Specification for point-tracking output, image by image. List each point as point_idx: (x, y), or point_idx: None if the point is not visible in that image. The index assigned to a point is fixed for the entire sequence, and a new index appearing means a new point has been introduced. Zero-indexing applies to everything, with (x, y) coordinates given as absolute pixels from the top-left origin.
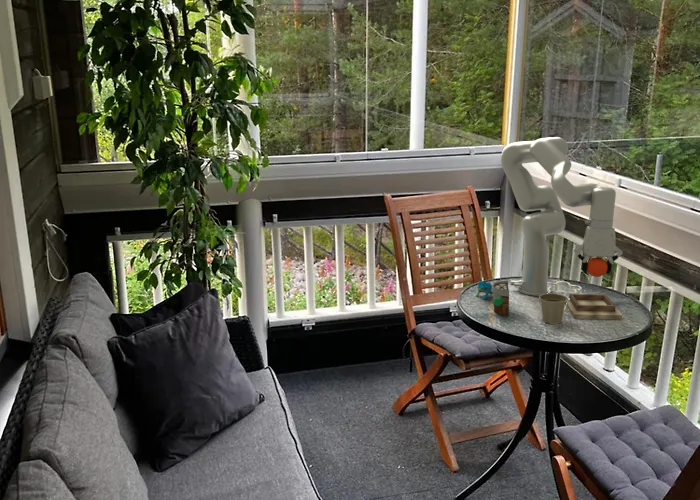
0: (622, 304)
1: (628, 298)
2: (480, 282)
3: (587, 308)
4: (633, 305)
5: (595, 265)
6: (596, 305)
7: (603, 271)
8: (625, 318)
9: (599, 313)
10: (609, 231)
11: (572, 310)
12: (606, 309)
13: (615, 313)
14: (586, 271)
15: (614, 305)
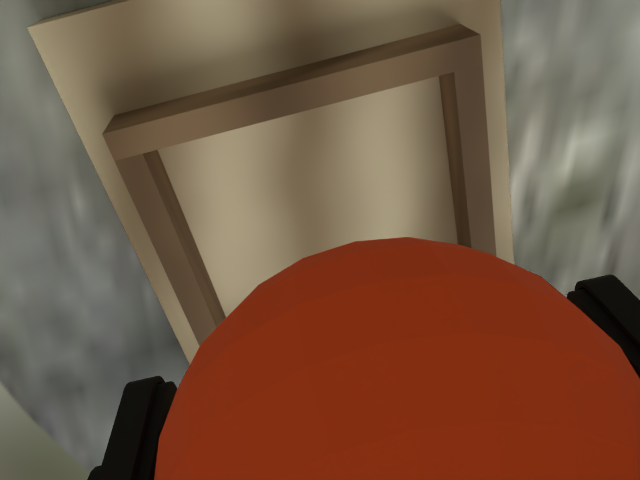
0: (106, 360)
1: (89, 465)
2: None
3: (368, 55)
4: (29, 365)
5: (518, 393)
6: (287, 100)
7: (239, 315)
8: (18, 54)
9: (250, 10)
10: None
11: (497, 25)
12: (190, 100)
13: (102, 60)
14: (597, 311)
15: (116, 152)
